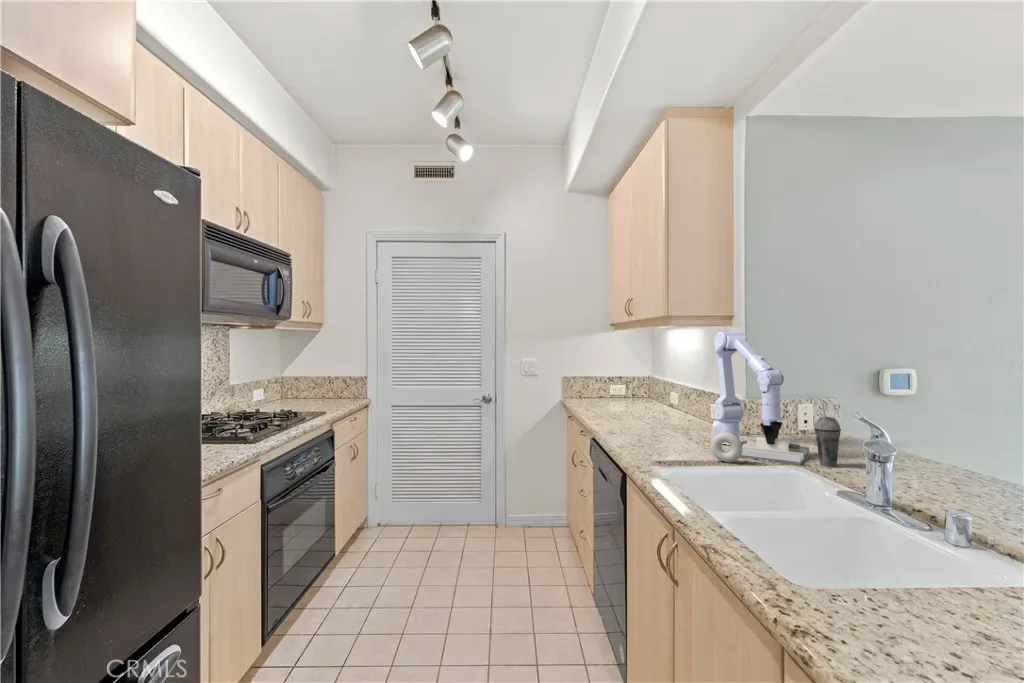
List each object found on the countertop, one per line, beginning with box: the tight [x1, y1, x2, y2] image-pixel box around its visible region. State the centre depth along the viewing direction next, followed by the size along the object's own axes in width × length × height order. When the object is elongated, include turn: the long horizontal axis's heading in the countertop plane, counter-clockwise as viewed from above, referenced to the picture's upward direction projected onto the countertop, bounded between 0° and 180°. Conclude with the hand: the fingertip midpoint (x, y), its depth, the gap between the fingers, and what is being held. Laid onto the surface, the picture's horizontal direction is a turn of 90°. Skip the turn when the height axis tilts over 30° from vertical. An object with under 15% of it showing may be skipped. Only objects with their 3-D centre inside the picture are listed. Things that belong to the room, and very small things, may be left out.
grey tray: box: [740, 440, 811, 466], centre depth 170 cm, size 20×18×3 cm
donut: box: [709, 432, 743, 463], centre depth 163 cm, size 10×3×10 cm, turn 55°
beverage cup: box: [813, 402, 842, 468], centre depth 156 cm, size 7×7×20 cm
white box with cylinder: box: [755, 436, 800, 451], centre depth 169 cm, size 13×3×4 cm, turn 50°
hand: (771, 443), depth 170 cm, fingers closed on white box with cylinder, 3 cm apart
